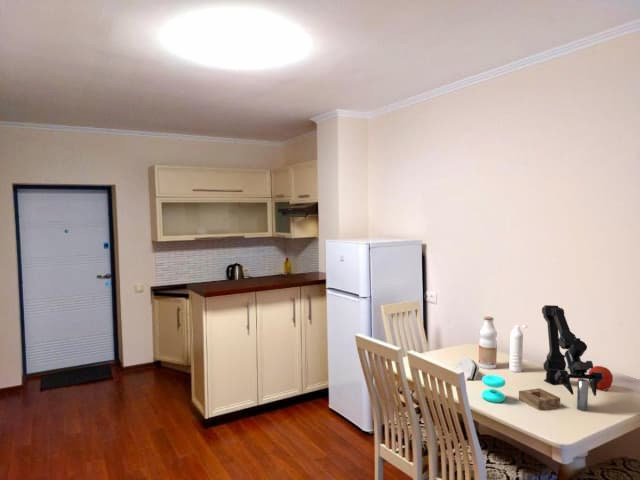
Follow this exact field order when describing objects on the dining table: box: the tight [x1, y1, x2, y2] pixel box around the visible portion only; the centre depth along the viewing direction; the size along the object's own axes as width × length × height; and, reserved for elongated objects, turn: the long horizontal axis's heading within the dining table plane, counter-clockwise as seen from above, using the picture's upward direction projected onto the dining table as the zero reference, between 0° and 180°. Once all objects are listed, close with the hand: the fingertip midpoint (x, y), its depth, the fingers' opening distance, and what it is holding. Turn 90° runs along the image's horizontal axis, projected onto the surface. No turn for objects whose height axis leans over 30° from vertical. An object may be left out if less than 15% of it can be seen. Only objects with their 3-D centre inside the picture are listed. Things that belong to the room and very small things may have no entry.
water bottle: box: [508, 324, 528, 373], centre depth 251 cm, size 9×6×25 cm
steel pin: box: [576, 378, 589, 412], centre depth 201 cm, size 4×4×13 cm
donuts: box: [481, 374, 506, 403], centre depth 212 cm, size 10×10×10 cm
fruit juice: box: [478, 316, 498, 370], centre depth 256 cm, size 9×9×28 cm
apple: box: [588, 365, 614, 391], centre depth 226 cm, size 10×10×12 cm
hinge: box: [453, 356, 480, 381], centre depth 243 cm, size 17×5×10 cm, turn 7°
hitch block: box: [518, 387, 561, 411], centre depth 208 cm, size 12×12×4 cm
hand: (584, 394), depth 199 cm, fingers open, 9 cm apart
